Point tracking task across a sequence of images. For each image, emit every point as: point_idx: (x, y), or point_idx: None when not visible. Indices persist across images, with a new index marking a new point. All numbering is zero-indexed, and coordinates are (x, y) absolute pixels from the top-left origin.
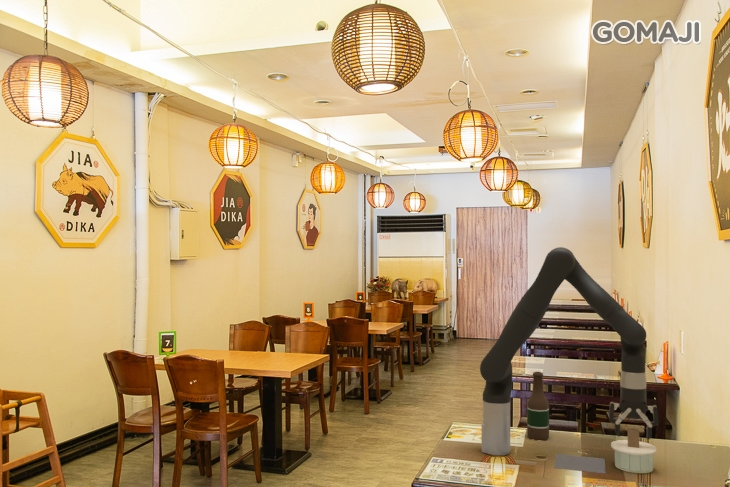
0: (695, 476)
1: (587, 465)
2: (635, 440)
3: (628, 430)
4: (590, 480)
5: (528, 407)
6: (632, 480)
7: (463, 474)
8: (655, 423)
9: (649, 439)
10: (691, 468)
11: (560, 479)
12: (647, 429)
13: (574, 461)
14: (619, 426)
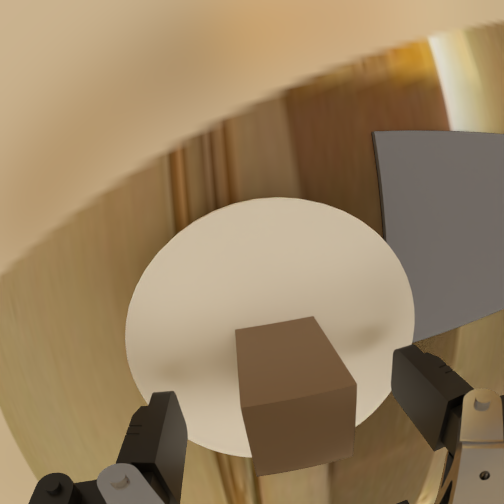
0: (25, 312)
1: (446, 215)
2: (268, 350)
3: (351, 394)
4: (404, 43)
5: None
6: (248, 105)
7: None
8: (60, 495)
9: (157, 394)
10: (61, 399)
11: (474, 35)
12: (155, 449)
13: (483, 244)
14: (444, 390)
